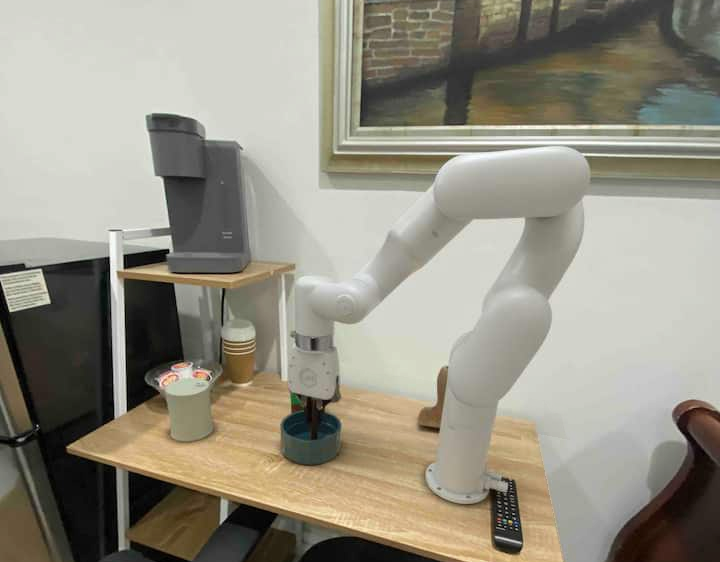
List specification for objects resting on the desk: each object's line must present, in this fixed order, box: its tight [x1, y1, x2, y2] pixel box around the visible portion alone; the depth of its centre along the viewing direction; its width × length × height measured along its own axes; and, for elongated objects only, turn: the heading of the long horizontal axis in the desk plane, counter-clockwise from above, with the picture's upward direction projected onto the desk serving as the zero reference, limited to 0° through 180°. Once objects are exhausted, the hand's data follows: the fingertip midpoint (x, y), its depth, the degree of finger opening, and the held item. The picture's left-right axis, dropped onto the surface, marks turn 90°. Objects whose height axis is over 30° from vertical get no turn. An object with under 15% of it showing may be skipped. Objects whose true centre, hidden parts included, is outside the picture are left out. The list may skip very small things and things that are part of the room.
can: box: [164, 377, 214, 443], centre depth 89 cm, size 9×9×12 cm
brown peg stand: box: [308, 397, 318, 440], centre depth 83 cm, size 4×4×12 cm
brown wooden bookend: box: [417, 365, 449, 429], centre depth 98 cm, size 15×12×15 cm
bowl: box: [279, 410, 343, 466], centre depth 86 cm, size 13×13×6 cm
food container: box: [288, 390, 304, 414], centre depth 100 cm, size 12×6×10 cm, turn 168°
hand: (314, 421), depth 83 cm, fingers closed on brown peg stand, 1 cm apart
